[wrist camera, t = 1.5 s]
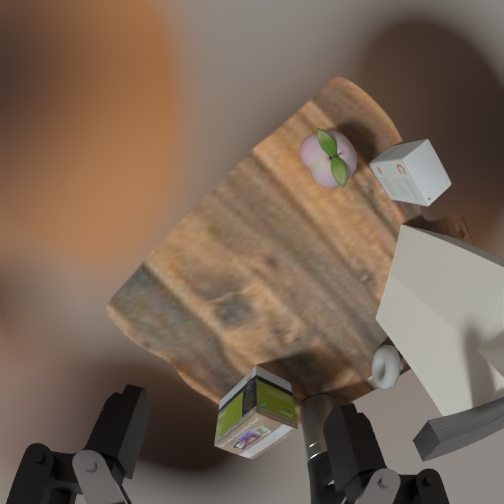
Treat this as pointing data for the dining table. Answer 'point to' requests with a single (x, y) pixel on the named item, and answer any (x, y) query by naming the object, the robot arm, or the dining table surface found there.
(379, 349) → the donut
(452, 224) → the dining table surface
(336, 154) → the decorative fruit
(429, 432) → the metal bar
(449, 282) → the two tier stand
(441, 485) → the robot arm
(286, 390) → the tea box
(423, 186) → the small box
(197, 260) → the dining table surface
